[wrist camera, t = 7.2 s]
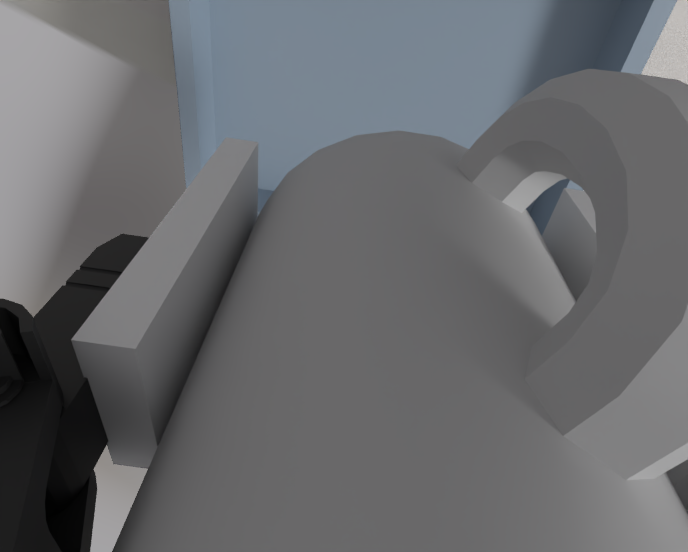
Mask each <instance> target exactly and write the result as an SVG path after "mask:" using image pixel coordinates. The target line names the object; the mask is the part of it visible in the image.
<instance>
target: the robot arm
mask: <svg viewBox="0 0 688 552" xmlns="http://www.w3.org/2000/svg"><path fill="white" fill-rule="evenodd" d="M257 217H258V142H254V141H247V140H240V139H234V138H227V137H226V138H225V139H224V141H223V142H222V143H221V145H220V146H219V147H218V148H217V150H216V151H215V152H214V154H213V155H212V156H211V158H210V159H209V160H208V162H207V163H206V164H205V165H204V167H203V168H202V169H201V171H200V172H199V173H198V175H197V176H196V177H195V179H194V180H193V181H192V182H191V184H190V185H189V186H188V188H187V189H186V190H185V192H184V193H183V194H182V196H181V197H180V198H179V199H178V201H177V202H176V204H175V205H174V206H173V207H172V209H171V210H170V211H169V213H168V214H167V215H166V217H165V218H164V219H163V220H162V222H161V223H160V224H159V226H158V227H157V228H156V230H155V231H154V232H153V233H152V235H151V236H150V237H149V238H147V237H141V236H134V235H127V234H121V235H119V236H117V237H115V238H114V239H112V240H110V241H108V242H106V243H105V244H103V245H101V246H99V247H97V248H96V249H95V250H94V252H92V254H91V255H90V256H89V257H88V258H87V259H86V260H85V261H84V262H83V264H82V265H81V266H80V270H76V271H75V272H74V274H73V275H72V276H71V277H70V278H69V279H68V280H67V281H66V285H65V286H62V287H61V288H60V289H59V290H58V291H57V292H56V293H55V294H54V295H53V297H52V298H51V299H50V300H49V301H48V302H47V303H46V304H45V306H44V307H43V308H42V309H41V310H40V311H39V312H38V313H37V314H36V315H35V316H34V318H33V317H32V315H31V314H30V313H29V312H28V311H27V310H26V309H25V308H24V307H23V306H22V305H20V304H18V303H15V302H12V301H9V300H5V299H0V552H90V547H91V538H92V529H93V520H94V512H95V502H96V494H97V484H96V476H95V472H94V470H93V469H94V467H95V465H96V463H97V461H98V459H99V458H100V456H101V454H102V452H103V450H104V448H105V447H106V445H107V446H108V449H109V452H110V455H111V458H112V461H113V464H118V465H126V466H133V467H140V468H149V466H150V464H151V461H152V459H153V457H154V454H155V452H156V450H157V448H158V445H159V443H160V441H161V438H162V436H163V434H164V431H165V429H166V427H167V425H168V422H169V420H170V418H171V415H172V413H173V411H174V408H175V406H176V404H177V401H178V399H179V397H180V395H181V392H182V390H183V388H184V385H185V383H186V381H187V379H188V376H189V374H190V372H191V369H192V367H193V365H194V362H195V360H196V358H197V355H198V353H199V351H200V349H201V346H202V344H203V342H204V339H205V337H206V335H207V332H208V330H209V328H210V326H211V323H212V321H213V319H214V316H215V314H216V312H217V309H218V307H219V305H220V303H221V300H222V298H223V296H224V293H225V291H226V289H227V286H228V284H229V282H230V280H231V277H232V275H233V273H234V270H235V268H236V266H237V263H238V261H239V259H240V257H241V254H242V252H243V250H244V247H245V245H246V243H247V240H248V238H249V236H250V234H251V231H252V229H253V227H254V224H255V222H256V220H257ZM542 237H543V239H544V241H545V243H546V245H547V247H548V249H549V251H550V253H551V254H552V256H553V258H554V260H555V262H556V264H557V266H558V268H559V270H560V272H561V273H562V275H563V277H564V279H565V281H566V283H567V285H568V287H569V289H570V291H571V292H572V294H573V296H574V298H575V300H576V301H577V300H578V298H579V297H580V295H581V294H582V292H583V291H584V289H585V288H586V287H587V285H588V284H589V281H590V277H591V273H592V269H593V265H594V261H595V257H596V253H597V242H596V220H595V211H594V208H593V205H592V202H591V200H590V198H589V196H588V195H587V194H586V192H585V191H581V190H575V189H568V188H564V189H563V191H562V194H561V196H560V198H559V200H558V202H557V204H556V207H555V209H554V211H553V213H552V215H551V217H550V220H549V222H548V224H547V226H546V228H545V230H544V232H543V235H542ZM666 473H667V475H668V477H669V478H670V480H671V482H672V484H673V486H674V488H675V490H676V492H677V494H678V496H679V497H680V499H681V501H682V503H683V505H684V507H685V509H686V511H687V513H688V459H687V460H686V461H684V462H682V463H680V464H679V465H677V466H675V467H674V468H672V469H670V470H668V471H667V472H666Z"/></svg>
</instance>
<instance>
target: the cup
mask: <svg viewBox="0 0 688 552" xmlns="http://www.w3.org/2000/svg"><path fill="white" fill-rule="evenodd" d="M567 178H568V179H569V180H571V181H572V182H574V183H576V184H577V185H579V186H580V187H582V189H583V190H584V191H585V192H586V194H587V195H588V196H589V198H590V200H591V202H592V205H593V208H594V211H595V220H596V242H597V253H596V257H595V261H594V265H593V269H592V273H591V277H590V281H589V284H588V285H587V287H586V288H585V289H584V291H583V292H582V294H581V295H580V297H579V298H578V300H577V301H576V300H575V298H574V296H573V294H572V292H571V291H570V289H569V287H568V285H567V283H566V281H565V279H564V277H563V275H562V273H561V272H560V270H559V268H558V266H557V264H556V262H555V260H554V258H553V256H552V254H551V253H550V251H549V249H548V247H547V245H546V243H545V241H544V239H543V237H542V235H541V234H540V232H539V230H538V228H537V226H536V224H535V222H534V221H533V219H532V217H531V216H530V214H529V213H528V211H527V210H526V208H527V207H528V206H529V205H530V204H531V203H532V202H533V201H534V200H535V199H536V198H537V197H538V196H539V195H540V194H541V193H542V192H544V191H545V190H546V189H548V188H549V187H551V186H552V185H554V184H555V183H557V182H558V181H560V180H563V179H567ZM687 459H688V85H687V84H685V83H683V82H681V81H679V80H675V79H668V78H661V77H654V76H647V75H640V74H633V73H625V72H615V71H606V70H597V69H585V70H582V71H578V72H575V73H571V74H568V75H564V76H560V77H557V78H553V79H550V80H548V81H547V82H545V83H544V84H542V85H541V86H539V87H538V88H536V89H535V90H533V91H532V92H530V93H529V94H527V95H526V96H524V97H523V98H521V99H520V100H518V101H517V102H515V103H514V104H513V105H512V106H511V107H510V108H509V109H508V110H507V111H506V112H505V113H504V114H503V115H502V116H500V117H499V118H498V119H497V120H496V121H495V122H494V123H493V124H492V125H491V126H490V127H489V128H488V129H487V130H486V131H485V132H484V133H483V134H482V135H481V136H480V137H479V138H478V139H477V140H476V141H475V143H474V144H473V145H472V146H471V148H470V149H467V148H465V147H463V146H460V145H458V144H456V143H454V142H451V141H449V140H447V139H445V138H442V137H439V136H432V135H426V134H419V133H413V132H406V131H399V130H397V131H389V132H380V133H371V134H362V135H355V136H353V137H350V138H348V139H345V140H342V141H340V142H337V143H335V144H332V145H329V146H327V147H324V148H322V149H319V150H317V151H316V152H315V153H313V154H312V155H311V156H309V157H308V158H307V159H305V160H304V161H303V162H301V163H300V164H299V165H297V166H296V167H295V168H293V169H292V170H291V171H289V172H288V173H287V174H286V176H285V177H284V178H283V180H282V181H281V182H280V184H279V185H278V186H277V188H276V189H275V190H274V192H273V193H272V194H271V196H270V197H269V198H268V200H267V201H266V203H265V205H264V206H263V208H262V210H261V211H260V213H259V215H258V217H257V220H256V222H255V224H254V227H253V229H252V231H251V234H250V236H249V238H248V240H247V243H246V245H245V247H244V250H243V252H242V254H241V257H240V259H239V261H238V263H237V266H236V268H235V270H234V273H233V275H232V277H231V280H230V282H229V284H228V286H227V289H226V291H225V293H224V296H223V298H222V300H221V303H220V305H219V307H218V309H217V312H216V314H215V316H214V319H213V321H212V323H211V326H210V328H209V330H208V332H207V335H206V337H205V339H204V342H203V344H202V346H201V349H200V351H199V353H198V355H197V358H196V360H195V362H194V365H193V367H192V369H191V372H190V374H189V376H188V379H187V381H186V383H185V385H184V388H183V390H182V392H181V395H180V397H179V399H178V401H177V404H176V406H175V408H174V411H173V413H172V415H171V418H170V420H169V422H168V425H167V427H166V429H165V431H164V434H163V436H162V438H161V441H160V443H159V445H158V448H157V450H156V452H155V454H154V457H153V459H152V461H151V464H150V466H149V468H148V471H147V473H146V475H145V477H144V480H143V483H142V484H141V487H140V489H139V491H138V494H137V496H136V498H135V501H134V503H133V505H132V508H131V510H130V512H129V514H128V517H127V519H126V521H125V523H124V526H123V528H122V530H121V533H120V535H119V537H118V540H117V542H116V544H115V546H114V549H113V551H112V552H688V513H687V511H686V509H685V507H684V505H683V503H682V501H681V499H680V497H679V496H678V494H677V492H676V490H675V488H674V486H673V484H672V482H671V480H670V478H669V477H668V475H667V473H666V472H667V471H668V470H670V469H672V468H674V467H675V466H677V465H679V464H680V463H682V462H684V461H686V460H687Z"/></svg>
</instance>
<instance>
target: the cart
mask: <svg viewBox="0 0 688 552" xmlns="http://www.w3.org/2000/svg"><path fill="white" fill-rule="evenodd" d="M676 2H677V0H169V10H170V21H171V31H172V42H173V52H174V63H175V74H176V84H177V94H178V105H179V115H180V126H181V137H182V147H183V158H184V168H185V179H186V189H187V188H188V186H189V185H190V184H191V182H192V181H193V180H194V179H195V177H196V176H197V175H198V173H199V172H200V171H201V169H202V168H203V167H204V165H205V164H206V163H207V162H208V160H209V159H210V158H211V156H212V155H213V154H214V152H215V151H216V150H217V148H218V147H219V146H220V145H221V143H222V142H223V141H224V139H225V138H226V137H227V138H234V139H240V140H247V141H254V142H258V215H259V213H260V211H261V210H262V208H263V206H264V205H265V203H266V201H267V200H268V198H269V197H270V196H271V194H272V193H273V192H274V190H275V189H276V188H277V186H278V185H279V184H280V182H281V181H282V180H283V178H284V177H285V176H286V174H287V173H288V172H289V171H291V170H292V169H293V168H295V167H296V166H297V165H299V164H300V163H301V162H303V161H304V160H305V159H307V158H308V157H309V156H311V155H312V154H313V153H315V152H316V151H317V150H319V149H322V148H324V147H327V146H329V145H332V144H335V143H337V142H340V141H342V140H345V139H348V138H350V137H353V136H355V135H362V134H371V133H380V132H389V131H397V130H399V131H406V132H413V133H419V134H426V135H432V136H439V137H442V138H445V139H447V140H449V141H451V142H454V143H456V144H458V145H460V146H463V147H465V148H467V149H470V148H471V146H472V145H473V144H474V143H475V141H476V140H477V139H478V138H479V137H480V136H481V135H482V134H483V133H484V132H485V131H486V130H487V129H488V128H489V127H490V126H491V125H492V124H493V123H494V122H495V121H496V120H497V119H498V118H499V117H500V116H502V115H503V114H504V113H505V112H506V111H507V110H508V109H509V108H510V107H511V106H512V105H513V104H514V103H515V102H517V101H518V100H520V99H521V98H523V97H524V96H526V95H527V94H529V93H530V92H532V91H533V90H535V89H536V88H538V87H539V86H541V85H542V84H544V83H545V82H547V81H548V80H550V79H553V78H557V77H560V76H564V75H568V74H571V73H575V72H578V71H582V70H585V69H597V70H606V71H615V72H625V73H633V74H640V75H641V73H642V70H643V68H644V66H645V64H646V62H647V60H648V58H649V56H650V54H651V52H652V50H653V48H654V46H655V44H656V42H657V40H658V38H659V36H660V34H661V32H662V30H663V28H664V26H665V24H666V22H667V20H668V18H669V16H670V14H671V12H672V10H673V8H674V6H675V4H676ZM564 188H568V189H575V190H581V191H583V189H582V187H580V186H579V185H577V184H576V183H574V182H572V181H571V180H569V179H568V178H567V179H563V180H560V181H558V182H557V183H555V184H554V185H552V186H551V187H549V188H548V189H546V190H545V191H544V192H542V193H541V194H540V195H539V196H538V197H537V198H536V199H535V200H534V201H533V202H532V203H531V204H530V205H529V206H528V207H527V208H526V210H527V211H528V213H529V214H530V216H531V217H532V219H533V221H534V222H535V224H536V226H537V228H538V230H539V232H540V234H541V235H543V232H544V230H545V228H546V226H547V224H548V222H549V220H550V217H551V215H552V213H553V211H554V209H555V207H556V204H557V202H558V200H559V198H560V196H561V194H562V191H563V189H564Z"/></svg>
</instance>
